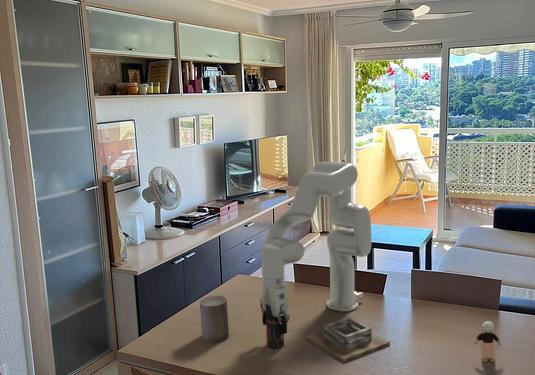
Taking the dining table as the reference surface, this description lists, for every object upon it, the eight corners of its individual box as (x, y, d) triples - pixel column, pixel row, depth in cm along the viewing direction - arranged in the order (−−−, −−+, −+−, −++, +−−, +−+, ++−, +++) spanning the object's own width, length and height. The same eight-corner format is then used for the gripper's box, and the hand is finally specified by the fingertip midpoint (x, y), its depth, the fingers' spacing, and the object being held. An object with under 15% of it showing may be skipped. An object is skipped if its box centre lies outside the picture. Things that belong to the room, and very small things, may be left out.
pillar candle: (233, 332, 190) (231, 292, 187) (222, 344, 180) (219, 303, 178) (209, 329, 193) (206, 290, 190) (197, 341, 184) (194, 300, 181)
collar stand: (350, 324, 193) (350, 310, 192) (389, 345, 176) (390, 329, 175) (306, 339, 182) (306, 324, 181) (344, 362, 166) (344, 346, 165)
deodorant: (282, 349, 176) (281, 307, 173) (265, 348, 177) (263, 306, 174) (285, 341, 181) (284, 300, 179) (268, 340, 182) (267, 299, 180)
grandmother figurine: (495, 356, 166) (497, 318, 164) (501, 362, 163) (503, 323, 160) (471, 357, 166) (473, 319, 164) (477, 363, 162) (478, 325, 160)
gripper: (297, 285, 170) (298, 335, 173) (269, 271, 184) (270, 317, 187) (278, 290, 166) (279, 341, 169) (250, 276, 180) (252, 322, 183)
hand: (274, 328), depth 178 cm, fingers open, 9 cm apart
